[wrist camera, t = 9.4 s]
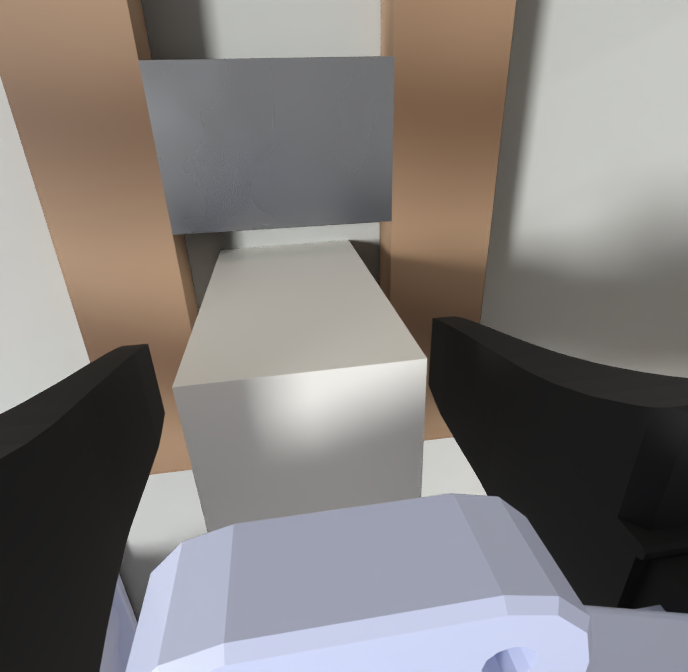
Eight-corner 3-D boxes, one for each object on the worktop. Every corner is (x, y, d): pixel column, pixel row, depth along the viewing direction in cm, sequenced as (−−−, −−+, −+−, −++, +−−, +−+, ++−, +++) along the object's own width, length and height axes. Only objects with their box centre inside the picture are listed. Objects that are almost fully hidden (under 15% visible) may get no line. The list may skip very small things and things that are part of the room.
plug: (352, 350, 16) (419, 533, 9) (239, 362, 16) (215, 565, 9) (348, 239, 14) (427, 358, 7) (220, 250, 14) (171, 387, 7)
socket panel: (452, 411, 18) (467, 435, 17) (137, 448, 17) (126, 477, 15) (527, -394, 9) (570, -480, 8) (-128, -468, 8) (-208, -588, 6)
